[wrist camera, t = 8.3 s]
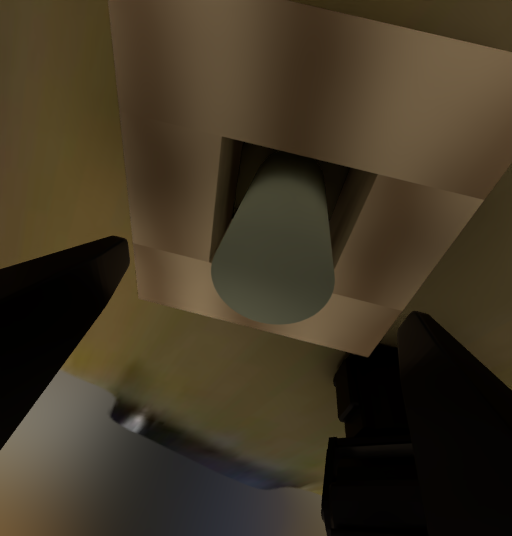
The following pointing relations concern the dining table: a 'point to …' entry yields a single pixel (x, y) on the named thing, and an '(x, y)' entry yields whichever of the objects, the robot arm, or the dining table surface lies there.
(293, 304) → the sage peg
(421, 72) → the socket block
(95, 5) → the dining table surface
